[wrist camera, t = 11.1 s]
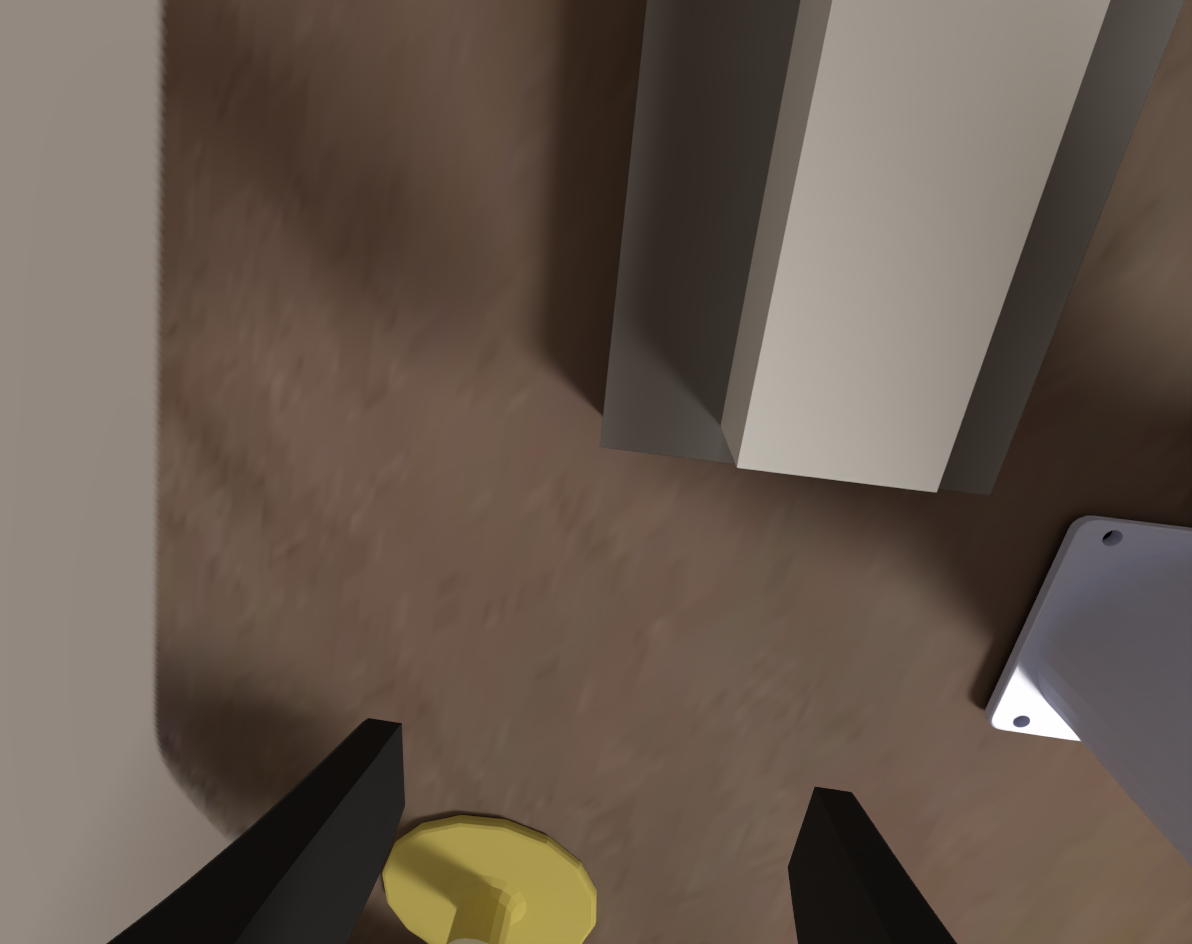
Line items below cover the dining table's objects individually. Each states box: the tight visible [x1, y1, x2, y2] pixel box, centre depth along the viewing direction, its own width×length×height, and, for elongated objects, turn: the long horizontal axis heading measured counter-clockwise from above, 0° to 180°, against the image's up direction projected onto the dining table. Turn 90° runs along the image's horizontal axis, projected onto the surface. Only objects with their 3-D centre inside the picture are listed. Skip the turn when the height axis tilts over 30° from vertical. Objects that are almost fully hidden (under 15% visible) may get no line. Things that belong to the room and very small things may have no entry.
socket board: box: [600, 0, 1184, 496], centre depth 13 cm, size 10×14×2 cm
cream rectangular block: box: [721, 0, 1110, 493], centre depth 12 cm, size 4×12×6 cm, turn 175°
